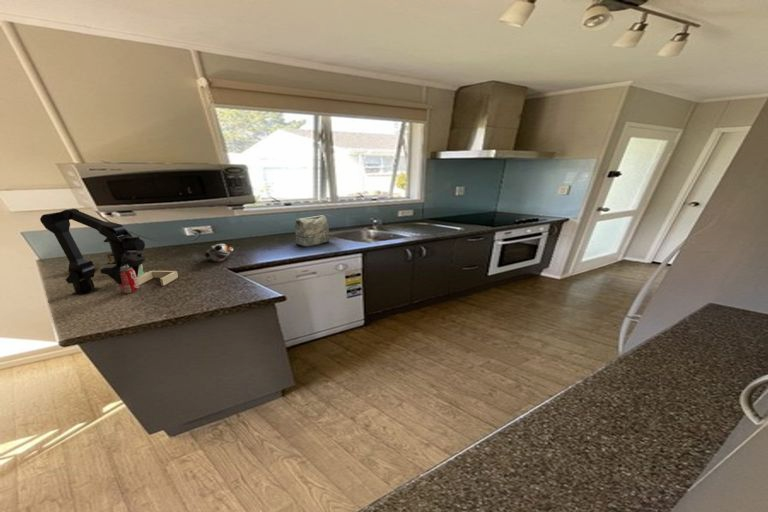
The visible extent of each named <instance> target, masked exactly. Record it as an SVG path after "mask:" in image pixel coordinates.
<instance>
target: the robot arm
mask: <svg viewBox="0 0 768 512" xmlns="http://www.w3.org/2000/svg"><path fill="white" fill-rule="evenodd" d="M71 220H72V221H74V222H76V223H79V224H82V225H84V226H87V227H89V228H92V229H94V230H96V231H97V232H98V233H99V234H100V235H102V236H103V237H105V239H104V240H103V243H108V244H109V247H110V251H111V253H109V254H110V256H112V258H113V261H112V264H108V265H105V266H102V267H101V268H100V269H99V270H100V273H101V274H103V275H106V276H109V278H111V279H112V280H113V281H114V282H116V284H118V285H119V284H122V281H121V277H120V273H121V272H122V271H120V270H121V269H120V268H122V267H123V266H126V265H128V266H129V267H132V269H133V270H134V271H135V273H136V277H137V276H138V270H139V266H140V265H141V264H142V265H143V264H144V262H145V261H146V258H145V255H144V253H142V252H141V251H143V250H145V248H146V242H145V241H144V240H143V239H141V238H140V236H133V234H132V233H131V232H129V231H128V230H127V229H126V228H125V227H124V225H122V224H120V223H117V222H114V221H105V220H103V219H100V218H97V217H95V216H92V215H90V214H87V213H86V212H83V211H80V209H77V208H68V209H64V210H61V211H57V212H50V213H45V214H42V215H41V216H40V218H39V221H40V223H41V224H42V226H43V227H44V228H45V229H46V230H47V231H49V232H50V233H53V235H54V237H55V238H56V240H57V242H58V245H60V248H61V249H62V251H63V253H64V255H65V256H66V259H67V260H68V261H69V262H68V263H69V264H68V270H69V272H70V273H69V272H68V273H69V275H67V277H66V278H65V281H66V283H67V284H72V286H73V287H72V288H73V290H74V292H72V295H86V294H90V293H91V292H93V291H95V290H98V287H95V285H94V284H95V283H94V281H93V279H92V278H95V273H96V269H97V268H96V267H95V266H94V263H93V261H92V260H87V259H86V258H84V256H83V254H82V253H81V250H80V249H79V247H78V245H77V243H76V241H75V239H74V237H73V235H72V234H71V232H70V227H71V222H70V221H71ZM131 251H138V254H137V255H132V253H131ZM95 268H96V269H95Z"/></svg>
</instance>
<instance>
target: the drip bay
mask: <svg viewBox="0 0 768 512" xmlns="http://www.w3.org/2000/svg"><path fill="white" fill-rule="evenodd" d="M146 272H147V273H145V274H143V275H141V276H139V277H137V280H138V284H139V286H141V285H143V284H145V283H146V282H148V281H150V280H153V279H159V282H160V285H161V287H165V286H166V285H168V284H170V283H171V282H173V281H175V280H176V279H178V278H179V274H178V271H177V270H150V271H146Z"/></svg>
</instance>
